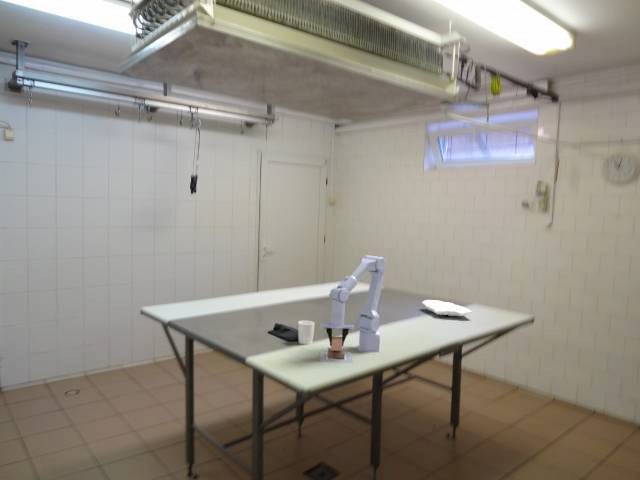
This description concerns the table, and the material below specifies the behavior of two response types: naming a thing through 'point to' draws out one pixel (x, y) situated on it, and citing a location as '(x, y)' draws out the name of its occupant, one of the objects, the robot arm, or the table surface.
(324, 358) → the blueprint board
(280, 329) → the dark slate chunk
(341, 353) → the base block
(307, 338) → the white cup
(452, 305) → the crumpled cloth
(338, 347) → the top block
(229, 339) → the table surface
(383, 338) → the table surface
